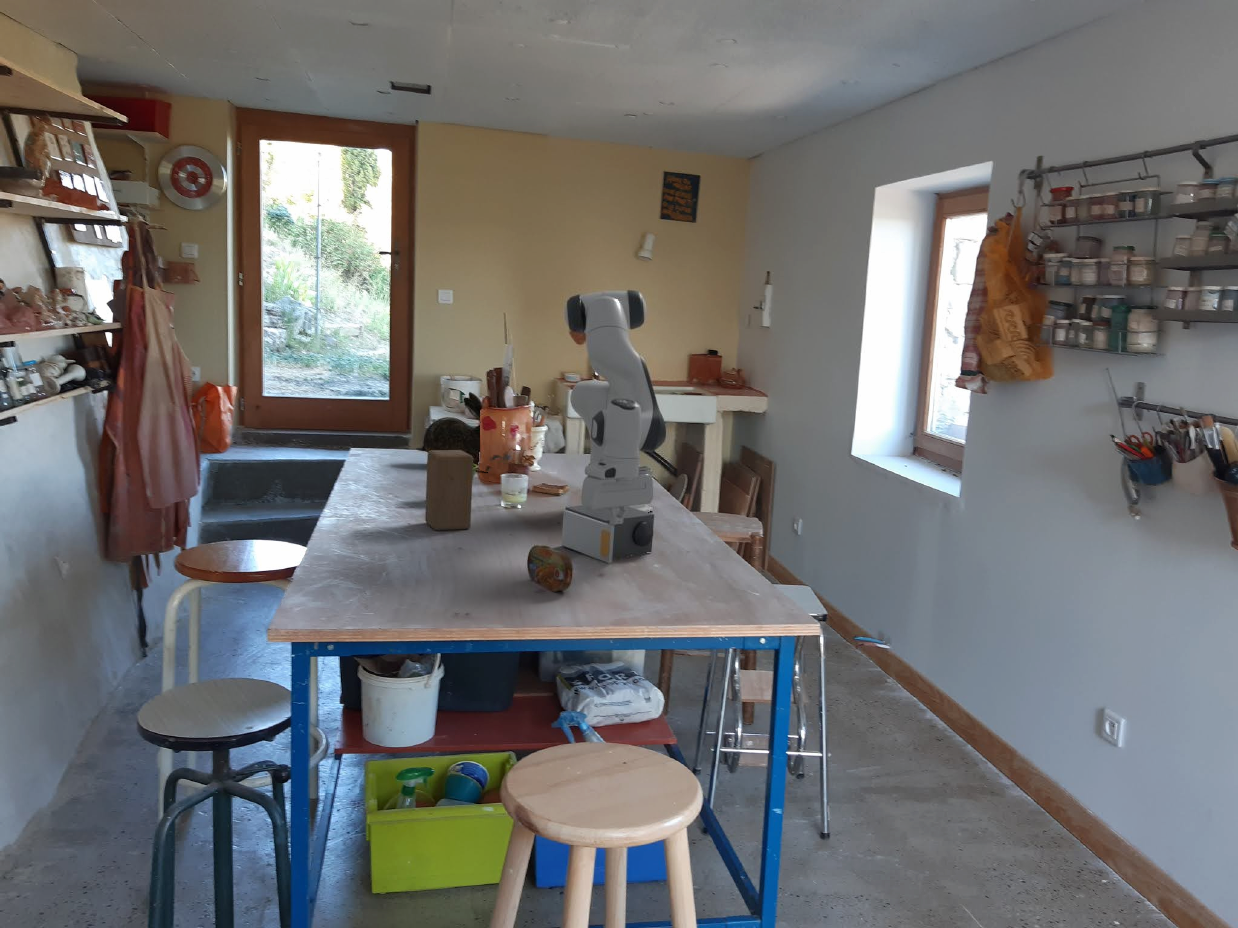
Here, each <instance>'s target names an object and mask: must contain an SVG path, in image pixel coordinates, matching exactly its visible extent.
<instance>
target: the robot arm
mask: <svg viewBox="0 0 1238 928" xmlns="http://www.w3.org/2000/svg"><path fill="white" fill-rule="evenodd" d="M565 304H566V305H565V308H564V320H565V322H566V325H567V327H568V328H569V330H570V331H571V332H572V333H574V334H579V335H584V334H585V343H586V351H587V356H588V358H589V360H590V361H589V362H590V366H591V368H592V370H593V371H594V372H595V373H596V374H597V375H598V376H600V377H601V378H603V379H604V380H598V379H597V380H595V379H590V380H583V381H578V382H577V383H575V385H574V386H573V388H572V390H571V391H570V397H569V399H570V404H571V405H570V406H571V407H572V409H573V411H574V412H575V413H576V414H578V416H579V417H580V418H581V419H582V421H583V422H584V424H585V426H586V428H587V431H588V434H589V440H590V443H589V444H590V448H589V449H590V457H589V463H588V465H586V466H585V467H584V474H585V475H586V477H584V479H583V482H582V488H581V495H580V496H581V498H580V500H581V501H580V502H581V505H583V506H584V507H585V508H588V509H602V508H607V512H608V514H609V517H610V524H611V525H619V524H623V521H624V517H625V515H626V513H627V511H628V507H631V508H635V509H638V510H641V511H644V512H649V513H651V512H650V511H653V512H654V507H652V506H650V505H649V504H651V503H652V501H653V500H654V482H653V471H652V469H651V467H649V466H647V465H644V466H640V459H641V458H640V457H641V454H640V452H647V453H653V452H655V451H657V450H658V449H659V448H660V447H661V446H662V445H663V444H664V443H665V441H666V438H667V427H666V422H665V419H664V417H663V414H662V413H661V409H660V408H659V404H658V400H657V397H656V393H655V390H654V389H655V388H654V387H653V383H652V379H651V376H650V373H649V369H648V366H647V363H646V361H645V359H644V357H643V356H642V355H640V354H639V353H638V352H637V351H636V349H634V347H633V345H632V343H631V341H630V336H629V330H635V329H638V328H641V326H642V325H644V323H645V320H646V317H647V313H648V311H647V310H648V309H647V303H646V300H645V299H644V297H643V294H642V293H641V292H639V291H638V290H632V289H628V290H604V291H598V292H597V291H596V292H590V293H586V294H582V295H581V294H575V295H573V296H570V297H569V298H568V299H567V301H566V303H565ZM617 507H618V509H620V510H619V512H618V515H617V516H616V514H615V511H617Z"/></svg>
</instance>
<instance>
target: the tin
mask: <svg viewBox="0 0 1238 928" xmlns="http://www.w3.org/2000/svg"><path fill="white" fill-rule="evenodd" d="M526 561H527V563H526V567H527V573H528V576H529V578H530V579H531V581H532V582H533V581H534V582H533V583H535V584H537V585H539V586H541V587H543V588H545V589H547V590H549V591H551V590H552V591H551V592H553V593H555V592H561V591H562V592H563V591H565V590H568V588H569V587H570V586H571V585H572V580H573V570H574V568H573V567H574V566H573V563H572V560H571V559H570V557H569V556H568V555H567V554H566V553H565V552H563V551H559V550H557V549H555V548H552V547H550V546H548V545H539V544H538V545H533V546H532V547H531V548H530V550H529V552H528V555H527V559H526Z"/></svg>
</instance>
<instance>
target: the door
mask: <svg viewBox="0 0 1238 928" xmlns="http://www.w3.org/2000/svg"><path fill="white" fill-rule="evenodd" d="M613 539H614V526H613V525H610V524H607V523H604V522H601V521H598V520H595V519H592V518H589V517H586V516H583V515H580V514H577V513H574V512H571V511H568V510H565V509H563V518H562V534H561V546H563V547H566V548H568V549H571V550H574V551H576V552H579V553H581V554H584V555H587V556H590V557H592V558H595V559H597V560H600V561H602V562H605V563H608V564H610V563H611V564H612V563H613V559H612V554H613Z"/></svg>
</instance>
